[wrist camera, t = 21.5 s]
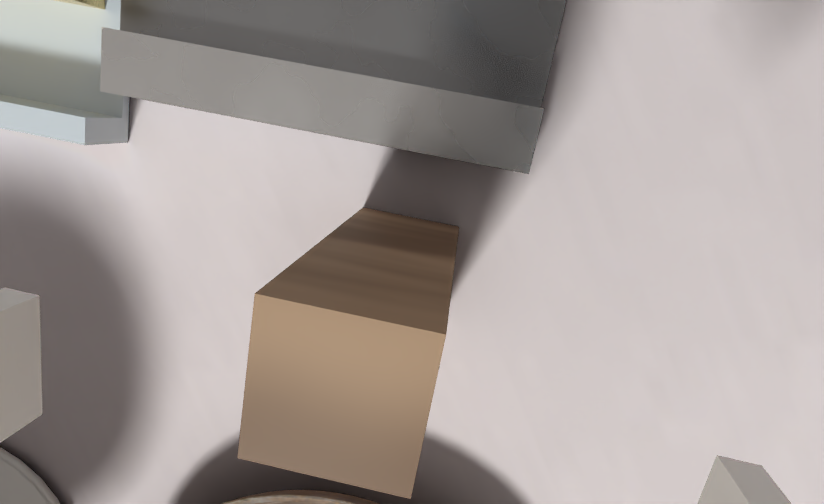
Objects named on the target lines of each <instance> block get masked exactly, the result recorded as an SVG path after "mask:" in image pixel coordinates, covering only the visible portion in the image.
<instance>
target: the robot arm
mask: <svg viewBox="0 0 824 504" xmlns="http://www.w3.org/2000/svg"><path fill="white" fill-rule="evenodd" d="M42 414H43V412H42V371H41V329H40V295H36V294H32V293H27V292H23V291H19V290H15V289H10V288H6V287H4V288H1V289H0V443H1V442H2V441H4V440H5V439H7V438H8V437H10V436H11V435H13V434H14V433H16V432H17V431H19V430H20V429H22V428H23V427H25V426H26V425H28V424H29V423H31V422H32V421H34V420H35V419H36V418H38V417H39V416H41V415H42ZM698 504H791V502H790V501H789V500H788V499H787V497H786V496H785V495H784V493H783V492H782V491H781V490H780V488H779V487H778V486H777V485H776V483H775V482H774V481H773V479H772V478H771V477H770V476H769V474H768V473H767V472H766V470H765V469H764V468H763V467H762V466H761V465H756V464H752V463H748V462H744V461H739V460H735V459H731V458H727V457H722V456H718V455H717V457H716V459H715V461H714V464H713V466H712V469H711V471H710V474H709V476H708V479H707V481H706V484H705V486H704V489H703V491H702V494H701V496H700V499H699V501H698Z"/></svg>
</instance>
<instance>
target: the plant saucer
mask: <svg viewBox="0 0 824 504" xmlns="http://www.w3.org/2000/svg"><path fill="white" fill-rule="evenodd" d="M221 504H379V503H376V502H373V501H370V500H367V499H363V498H359V497H356V496H352V495H346V494H341V493H335V492H328V491H319V490H282V491H272V492H266V493H260V494H254V495H250V496H245V497H241V498H237V499H234V500H230V501H227V502H224V503H221Z"/></svg>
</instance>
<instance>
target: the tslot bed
mask: <svg viewBox="0 0 824 504" xmlns="http://www.w3.org/2000/svg"><path fill="white" fill-rule="evenodd" d="M565 4H566V0H121V11H120V30H116V29H111V28H105V27H102V35H101V83H100V91H101V92H106V93H112V94H117V95H122V96H127V97H132V98H138V99H143V100H148V101H153V102H158V103H164V104H169V105H174V106H179V107H184V108H189V109H195V110H200V111H205V112H210V113H215V114H221V115H226V116H231V117H236V118H241V119H247V120H252V121H257V122H262V123H267V124H272V125H278V126H283V127H288V128H293V129H298V130H304V131H309V132H314V133H319V134H324V135H330V136H335V137H340V138H345V139H350V140H356V141H361V142H366V143H371V144H376V145H381V146H387V147H392V148H397V149H402V150H407V151H413V152H418V153H423V154H428V155H433V156H439V157H444V158H449V159H454V160H459V161H464V162H470V163H475V164H480V165H485V166H490V167H496V168H501V169H506V170H511V171H516V172H522V173H527V174H529V171H530V166H531V162H532V158H533V154H534V150H535V146H536V141H537V137H538V133H539V129H540V125H541V120H542V116H543V112H544V108H541V105H542V101H543V97H544V93H545V89H546V84H547V80H548V76H549V72H550V68H551V63H552V59H553V55H554V51H555V46H556V42H557V38H558V34H559V30H560V25H561V21H562V17H563V13H564V9H565Z"/></svg>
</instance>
